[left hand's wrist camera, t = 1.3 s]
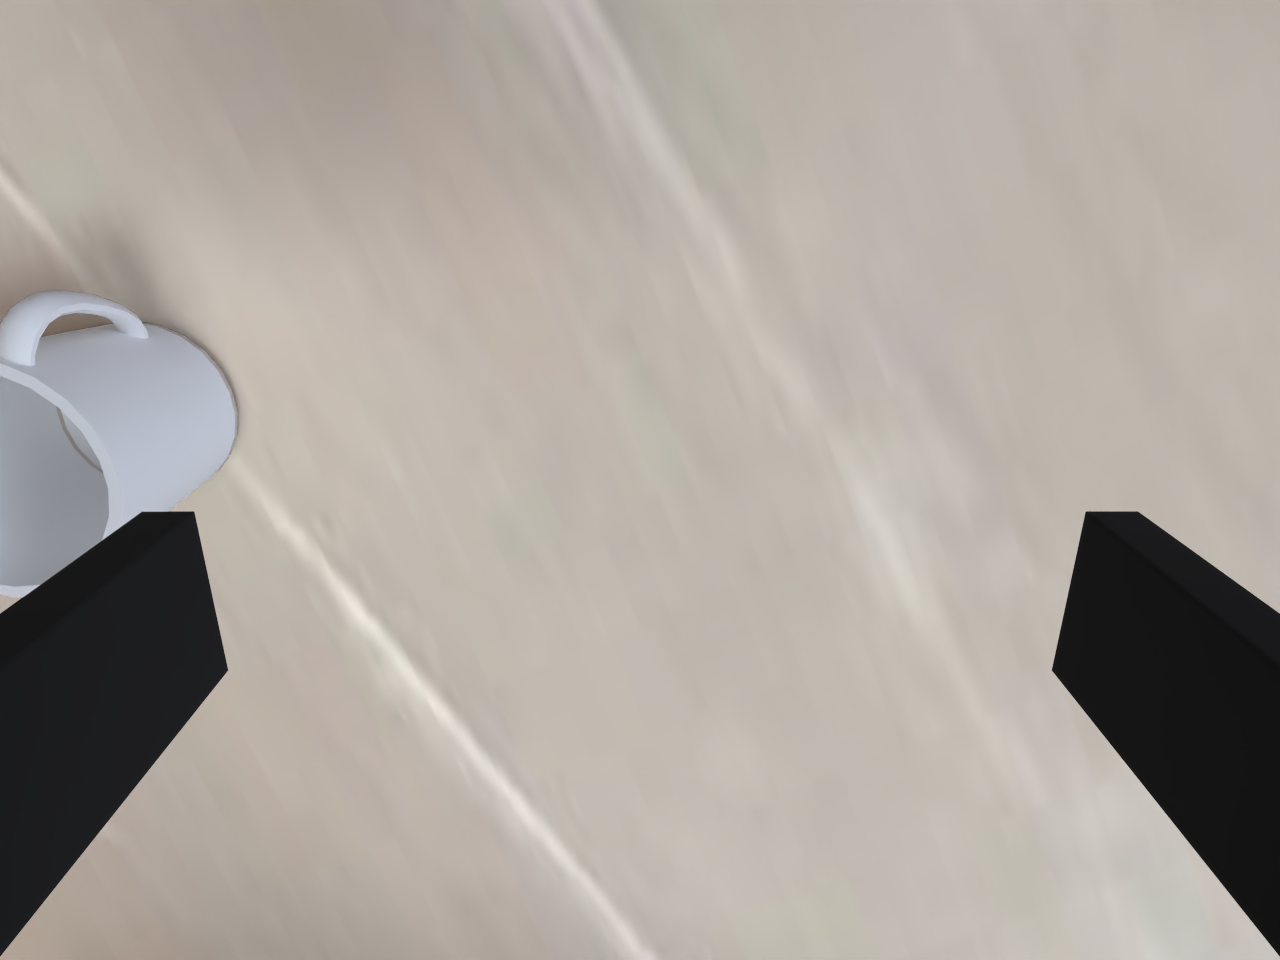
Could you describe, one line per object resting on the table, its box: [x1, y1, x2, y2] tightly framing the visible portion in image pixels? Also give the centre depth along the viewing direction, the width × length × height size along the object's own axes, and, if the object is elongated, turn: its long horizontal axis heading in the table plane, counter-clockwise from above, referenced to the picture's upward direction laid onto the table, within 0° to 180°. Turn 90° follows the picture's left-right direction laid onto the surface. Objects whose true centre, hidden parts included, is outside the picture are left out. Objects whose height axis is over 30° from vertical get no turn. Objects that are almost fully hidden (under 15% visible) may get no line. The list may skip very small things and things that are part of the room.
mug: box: [0, 290, 238, 597], centre depth 34 cm, size 11×9×10 cm
